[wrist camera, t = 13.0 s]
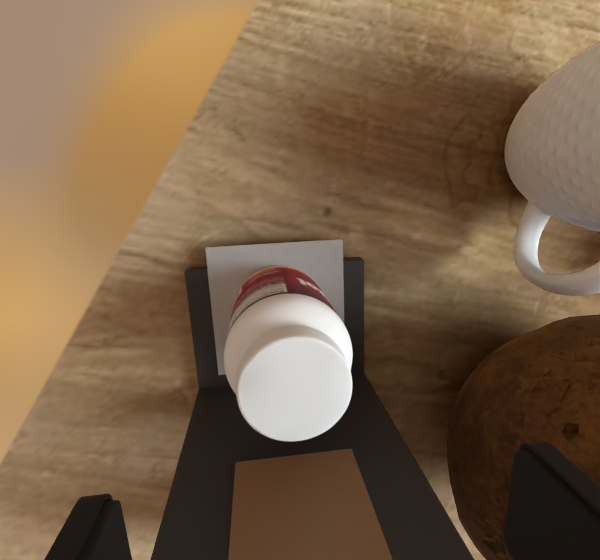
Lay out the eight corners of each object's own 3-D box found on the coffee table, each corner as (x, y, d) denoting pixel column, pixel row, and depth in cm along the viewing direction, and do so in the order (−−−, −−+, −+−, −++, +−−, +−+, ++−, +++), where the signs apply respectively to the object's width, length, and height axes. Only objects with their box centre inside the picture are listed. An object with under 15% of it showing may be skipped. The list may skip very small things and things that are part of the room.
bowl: (633, 265, 29) (1002, 341, 15) (607, 467, 34) (868, 674, 19) (401, 295, 27) (562, 413, 13) (407, 503, 32) (531, 759, 18)
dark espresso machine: (184, 246, 25) (-64, 444, 6) (360, 235, 26) (658, 369, 7) (218, 530, 31) (154, 1118, 11) (361, 511, 32) (525, 1011, 12)
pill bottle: (339, 324, 26) (396, 417, 16) (261, 365, 26) (264, 485, 16) (298, 246, 25) (332, 290, 14) (215, 290, 25) (185, 367, 14)
